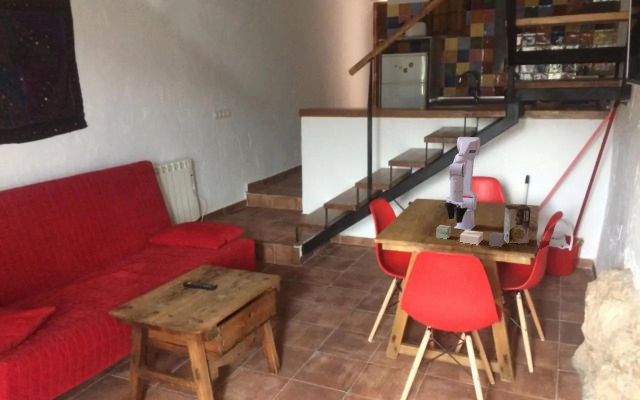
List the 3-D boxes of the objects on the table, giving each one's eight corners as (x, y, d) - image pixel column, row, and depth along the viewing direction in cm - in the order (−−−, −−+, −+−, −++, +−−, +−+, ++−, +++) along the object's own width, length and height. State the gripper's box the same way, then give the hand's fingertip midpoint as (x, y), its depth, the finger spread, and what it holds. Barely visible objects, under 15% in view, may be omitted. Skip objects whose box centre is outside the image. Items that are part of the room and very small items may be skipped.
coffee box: (522, 238, 228) (525, 204, 224) (528, 243, 222) (531, 207, 218) (502, 239, 228) (504, 204, 224) (508, 244, 222) (510, 208, 218)
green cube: (439, 235, 237) (440, 224, 236) (450, 236, 234) (450, 226, 233) (436, 238, 233) (436, 227, 232) (446, 239, 230) (447, 229, 229)
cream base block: (464, 238, 232) (465, 230, 231) (482, 240, 228) (483, 232, 227) (459, 243, 225) (460, 234, 225) (478, 246, 221) (478, 237, 220)
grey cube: (492, 242, 224) (492, 232, 223) (503, 244, 222) (504, 233, 220) (489, 246, 220) (489, 235, 219) (501, 248, 217) (501, 236, 216)
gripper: (440, 188, 228) (439, 217, 230) (455, 193, 214) (454, 225, 216) (455, 187, 229) (453, 216, 232) (471, 193, 215) (469, 224, 218)
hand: (455, 220), depth 224 cm, fingers open, 7 cm apart
